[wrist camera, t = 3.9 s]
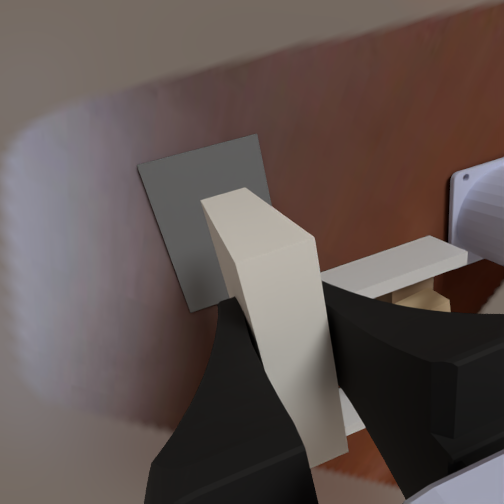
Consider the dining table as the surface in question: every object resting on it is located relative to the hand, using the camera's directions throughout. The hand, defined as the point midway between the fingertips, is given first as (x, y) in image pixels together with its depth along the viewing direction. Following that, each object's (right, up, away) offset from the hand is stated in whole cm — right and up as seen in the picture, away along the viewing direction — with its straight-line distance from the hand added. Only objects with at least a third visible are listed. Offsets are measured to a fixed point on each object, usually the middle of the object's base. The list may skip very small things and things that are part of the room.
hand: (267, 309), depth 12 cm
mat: (-3, +4, +9) cm, 10 cm away
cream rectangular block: (-1, +1, +4) cm, 4 cm away
